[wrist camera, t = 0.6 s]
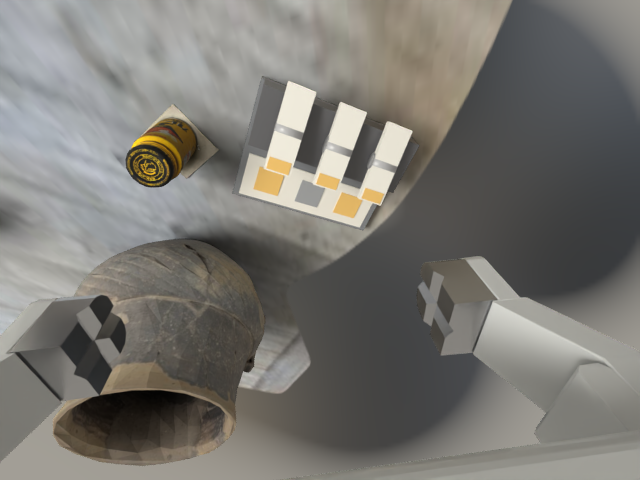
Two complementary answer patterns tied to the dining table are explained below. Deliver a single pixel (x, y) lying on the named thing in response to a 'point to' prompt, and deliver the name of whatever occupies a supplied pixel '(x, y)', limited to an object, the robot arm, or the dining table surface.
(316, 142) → the switch unit
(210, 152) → the condiment
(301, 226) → the dining table surface
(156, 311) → the ceramic pot
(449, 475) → the robot arm
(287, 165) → the switch
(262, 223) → the dining table surface
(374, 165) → the switch
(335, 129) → the switch
